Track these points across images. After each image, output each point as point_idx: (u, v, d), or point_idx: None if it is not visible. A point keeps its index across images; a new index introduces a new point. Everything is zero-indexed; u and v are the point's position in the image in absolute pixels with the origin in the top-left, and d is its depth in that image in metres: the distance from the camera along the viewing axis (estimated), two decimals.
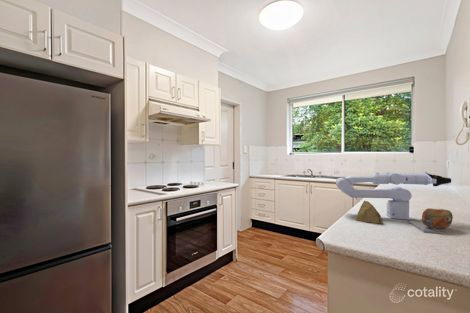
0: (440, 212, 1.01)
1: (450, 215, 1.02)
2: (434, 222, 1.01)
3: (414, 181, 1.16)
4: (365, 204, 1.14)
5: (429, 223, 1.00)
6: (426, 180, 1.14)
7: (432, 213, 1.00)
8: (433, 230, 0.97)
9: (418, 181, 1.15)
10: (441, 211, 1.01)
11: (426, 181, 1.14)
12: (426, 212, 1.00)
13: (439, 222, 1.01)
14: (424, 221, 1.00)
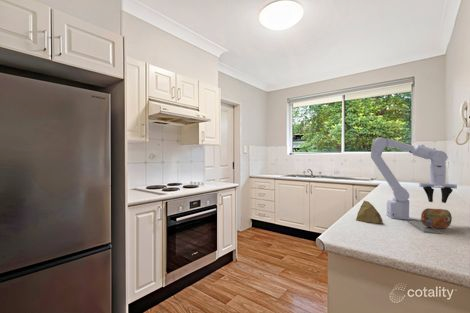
0: (438, 212, 1.02)
1: (449, 215, 1.03)
2: (434, 222, 1.01)
3: (435, 173, 1.10)
4: (365, 204, 1.14)
5: (429, 223, 1.00)
6: (430, 182, 1.13)
7: (431, 213, 1.01)
8: (433, 230, 0.97)
9: (430, 176, 1.14)
10: (440, 211, 1.02)
11: None
12: (425, 212, 1.01)
13: (439, 222, 1.02)
14: (423, 221, 1.01)
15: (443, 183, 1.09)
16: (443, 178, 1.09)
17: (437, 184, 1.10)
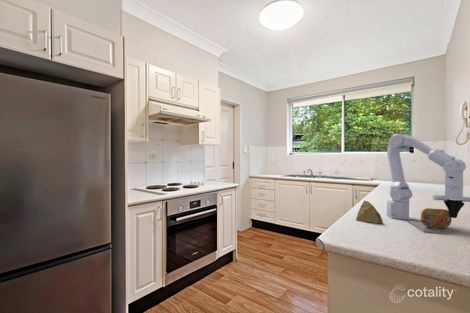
0: (438, 211, 1.02)
1: (449, 215, 1.03)
2: (433, 222, 1.01)
3: (447, 184, 1.00)
4: (365, 204, 1.14)
5: (429, 223, 1.00)
6: (445, 195, 1.02)
7: (431, 213, 1.01)
8: (433, 230, 0.97)
9: (445, 188, 1.02)
10: (439, 211, 1.02)
11: (445, 195, 1.02)
12: (425, 212, 1.01)
13: (438, 222, 1.02)
14: (423, 221, 1.01)
15: (460, 196, 0.98)
16: (460, 191, 0.98)
17: (454, 197, 0.98)
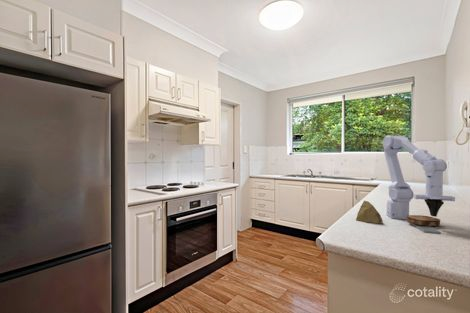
0: (417, 216, 1.10)
1: (429, 217, 1.11)
2: (423, 219, 1.05)
3: (426, 183, 1.03)
4: (365, 204, 1.14)
5: (419, 219, 1.04)
6: (426, 194, 1.04)
7: (412, 217, 1.09)
8: (433, 230, 0.97)
9: (426, 187, 1.04)
10: (417, 216, 1.11)
11: None
12: (407, 218, 1.08)
13: (428, 219, 1.06)
14: (415, 221, 1.04)
15: (440, 195, 1.00)
16: (440, 190, 1.00)
17: (433, 196, 1.00)
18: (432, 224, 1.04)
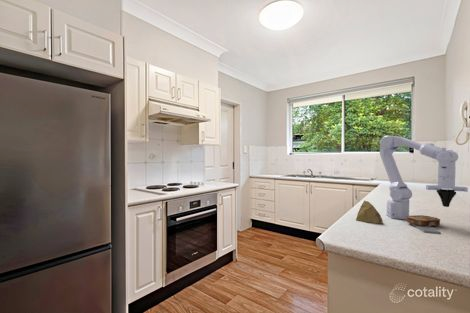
0: (417, 216, 1.10)
1: (429, 217, 1.11)
2: (423, 219, 1.05)
3: (440, 174, 1.03)
4: (365, 204, 1.14)
5: (419, 220, 1.04)
6: (438, 185, 1.04)
7: (412, 217, 1.09)
8: (433, 230, 0.97)
9: (438, 178, 1.05)
10: (417, 216, 1.11)
11: (437, 185, 1.05)
12: (407, 219, 1.08)
13: (428, 219, 1.06)
14: (415, 221, 1.04)
15: (452, 186, 1.00)
16: (452, 180, 1.00)
17: (446, 187, 1.01)
18: (432, 224, 1.04)
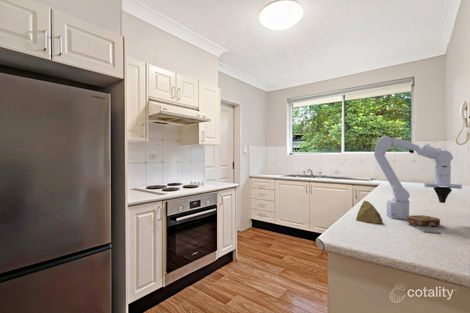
0: (417, 216, 1.10)
1: (429, 217, 1.11)
2: (423, 219, 1.05)
3: (441, 173, 1.10)
4: (365, 204, 1.14)
5: (419, 220, 1.04)
6: (435, 183, 1.13)
7: (412, 217, 1.09)
8: (433, 230, 0.97)
9: (435, 176, 1.13)
10: (417, 216, 1.11)
11: (434, 183, 1.13)
12: (407, 219, 1.08)
13: (428, 219, 1.06)
14: (415, 221, 1.04)
15: (448, 183, 1.09)
16: (448, 178, 1.09)
17: (442, 184, 1.09)
18: (432, 224, 1.04)
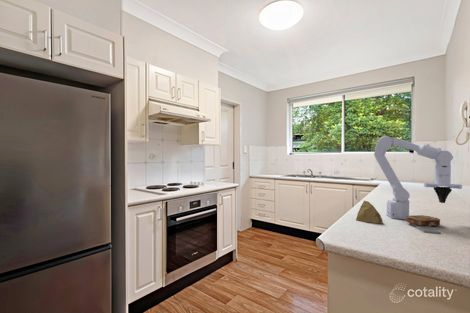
0: (417, 216, 1.10)
1: (429, 217, 1.11)
2: (423, 219, 1.05)
3: (441, 173, 1.10)
4: (365, 204, 1.14)
5: (419, 220, 1.04)
6: (435, 183, 1.13)
7: (412, 217, 1.09)
8: (433, 230, 0.97)
9: (435, 176, 1.13)
10: (417, 216, 1.11)
11: (434, 183, 1.13)
12: (407, 219, 1.08)
13: (428, 219, 1.06)
14: (415, 221, 1.04)
15: (448, 183, 1.09)
16: (448, 178, 1.09)
17: (442, 184, 1.09)
18: (432, 224, 1.04)
